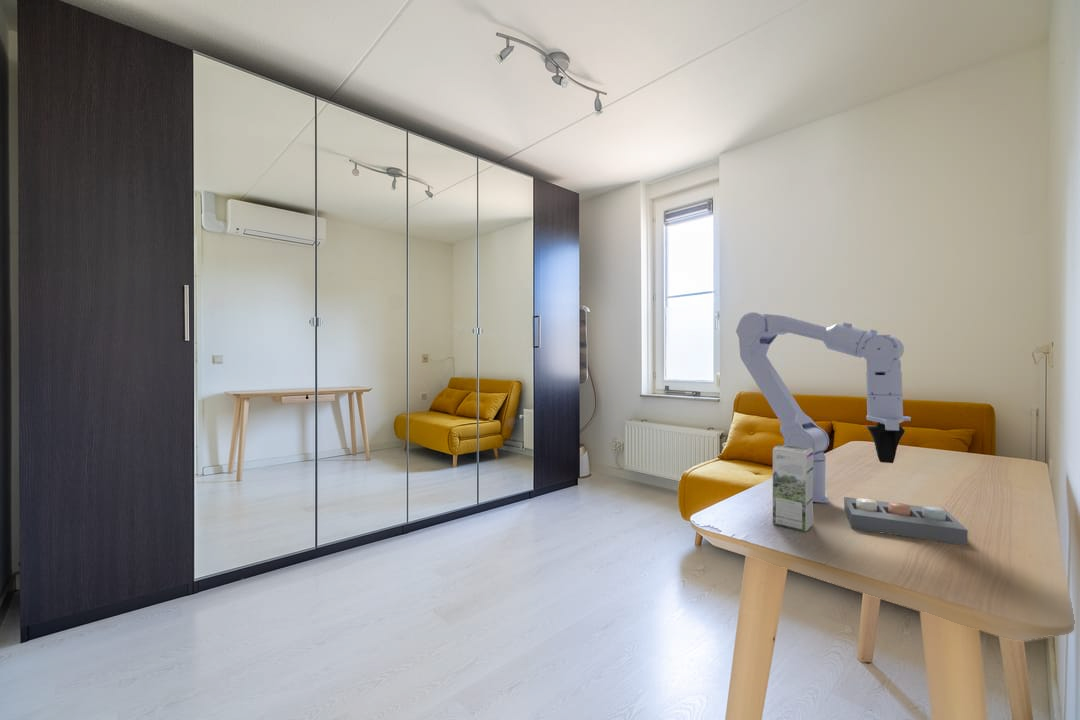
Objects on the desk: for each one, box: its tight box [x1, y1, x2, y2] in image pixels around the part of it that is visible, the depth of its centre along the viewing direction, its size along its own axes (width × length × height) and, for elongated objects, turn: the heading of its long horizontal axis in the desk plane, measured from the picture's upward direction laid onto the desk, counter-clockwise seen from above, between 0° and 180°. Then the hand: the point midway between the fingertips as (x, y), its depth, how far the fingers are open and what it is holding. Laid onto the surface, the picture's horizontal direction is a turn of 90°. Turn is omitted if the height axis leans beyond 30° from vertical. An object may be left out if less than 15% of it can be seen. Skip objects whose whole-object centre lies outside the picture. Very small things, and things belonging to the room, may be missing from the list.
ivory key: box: [856, 497, 877, 512], centre depth 87 cm, size 3×3×3 cm
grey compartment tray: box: [843, 496, 969, 547], centre depth 85 cm, size 16×12×3 cm
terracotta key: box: [888, 501, 910, 516], centre depth 85 cm, size 3×3×3 cm
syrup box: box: [772, 444, 814, 532], centre depth 85 cm, size 6×6×14 cm
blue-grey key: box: [922, 505, 947, 521], centre depth 82 cm, size 3×3×3 cm
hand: (886, 462), depth 91 cm, fingers closed
